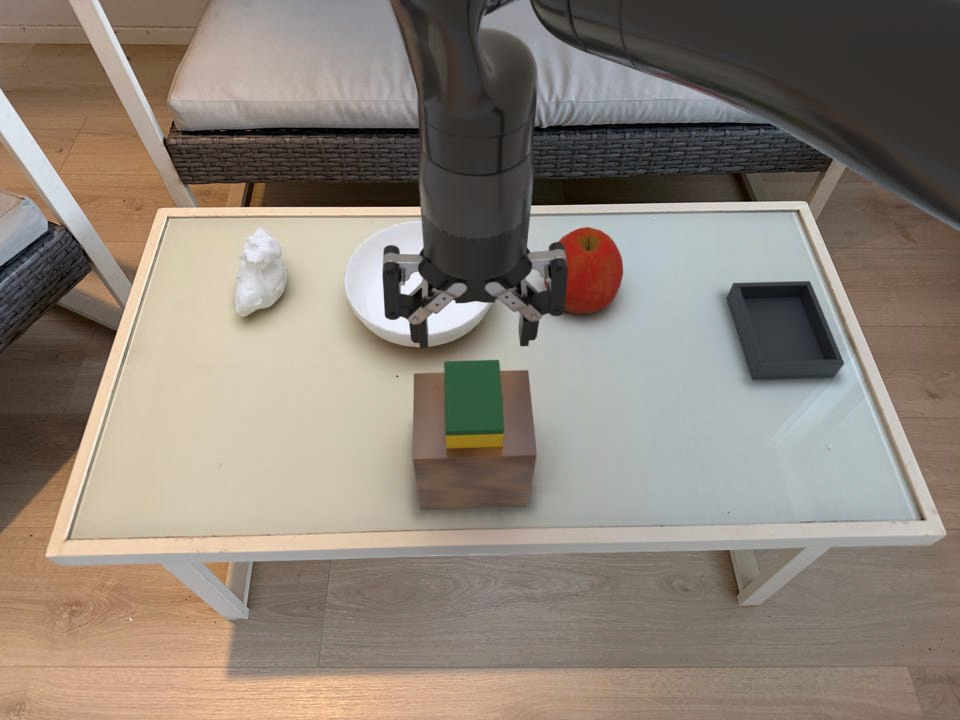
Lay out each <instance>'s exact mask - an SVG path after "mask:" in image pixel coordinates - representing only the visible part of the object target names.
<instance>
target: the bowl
mask: <svg viewBox="0 0 960 720" xmlns="http://www.w3.org/2000/svg"><path fill="white" fill-rule="evenodd" d="M388 245H394V246H397V247H398V248H399V250H400V254H419V253H420V252H421V250H422V249H423V234H422V220H413V221H412V220H411V221H406V222H400V223H396V224H394V225H391V226H388V227H385V228H383V229H381V230H379V231H377V232H375V233H373V234H372V235H370V236H369V237H368V238H366V239H365V240H364V241H362V243H361V244H360V245H359V246H358V247H357V248H356V249H355V251H353V253H352V254H351V256H350V258H349V260H348V262H347V264H346V268H345V271H344V276H343V281H344V282H343V286H344V291H345V295H346V297H347V300H348V302H349V305H350V307H351V309H352V311H353V313H354V314H355V316H356V317H357V318H358V320H360V321H361V323H362V324H363V325H364V326H365V327H366V328H367V329H368V330H369V331H370V332H372V333H373V334H375V335H376V336H378V337H379V338H381V339H383V340H385V341H388V342H390V343H393V344H397V345H400V346H404V347H414V348H420V345H419V343H413V342H412V340H411V335H410V326H409V321H408V320H407V319H406V318H403V317H399V318H398V319H396V320H389V319H387V318H386V317H385V310H384V293H383V276H382V273H383V253H384V248H385V247H386V246H388ZM422 279H423V278H422V277H421V275H420V274H419V272H414V273H412V274H411V276H410V279H409V280H407V281H405V285H403V286H401V293H402V294H406V295H409V294H410V293H411V292H412V291H413V290H415V289H416V288H417V287H418V286H419V285H420V284H421V282H422ZM492 304H493V303H484V302H477V301H474V302H468V303H455V301H454V300H452V301H451V302H450V303H449V304H448V305H447V306H446V307H444V308H443V309H442V310H441V311H440V312H439V313H438V314H435V313H432V314H431V315H430V316H429V317H428V318H427V322H428V347H435V346H439V345H440V346H441V345H444V344H448V343H451V342H453V341H456V340H457V339H460V338H462V337H463V336H465V335H467V334H468V333H470V332H471V331H472V330H473V329H474V328H475V327H476V326H478V325H479V324H480V323H481V321H482V320H483V318H484V317H485V315H486V314H487V313H488V311H489V310H490V308H491V307H492Z"/></svg>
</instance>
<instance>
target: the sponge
mask: <svg viewBox="0 0 960 720" xmlns="http://www.w3.org/2000/svg"><path fill="white" fill-rule="evenodd" d="M500 371H501V365H500V359H480V360H478V359H477V360H476V359H475V360H446V361H444V362H443V373H444V384H445V435H446V448H447V449H453V448H484V447H503V437H504V421H503V407H502V393H501V379H500Z"/></svg>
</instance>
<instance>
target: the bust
mask: <svg viewBox="0 0 960 720" xmlns="http://www.w3.org/2000/svg"><path fill="white" fill-rule="evenodd" d="M282 255H283V254H282V247H281V245H280V242H279V241H278V240H277V239H276V238H275V237H274V236H272V234H271V233H270V232H269V231H268V230H265V229H264V228H263V227H257V228H256V231H255V232H254V234H253V235H249V236H247V237H246V238H244V243H243V250H242V252H241V253H239V254H238V259H239V260H242V261H241V262H240V264H239V265H238V270H237V273H236V275H235V291H234V309H235V311H236V314H237V315H238V316H239V317H241V318H246V317H247V316H249V315H251V314H253V313H254V312H256V311H257V310H260V309H268V308H270V307H272V306H274V304H275V303H276V302H277V301H278V300H280V298H281V297H282V296H283V294H284V292H285V289H286V286H287V282H288V273H287V268H286V267H285V263H284V261H283V259H282Z"/></svg>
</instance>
